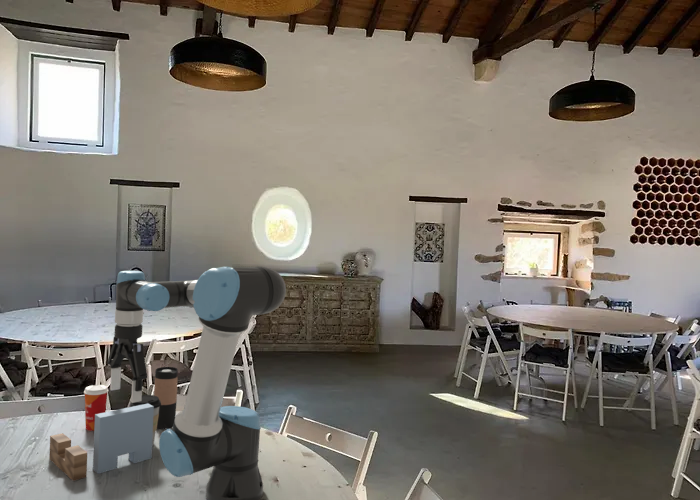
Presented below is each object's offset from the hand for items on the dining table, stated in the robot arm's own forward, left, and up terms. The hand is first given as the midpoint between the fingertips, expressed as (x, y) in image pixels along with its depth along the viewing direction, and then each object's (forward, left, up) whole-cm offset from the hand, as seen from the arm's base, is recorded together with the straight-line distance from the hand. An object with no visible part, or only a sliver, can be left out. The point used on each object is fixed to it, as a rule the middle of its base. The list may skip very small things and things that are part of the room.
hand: (125, 395), depth 161 cm
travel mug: (+20, -24, -21) cm, 37 cm away
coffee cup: (+9, -11, -21) cm, 25 cm away
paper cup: (+32, -5, -21) cm, 38 cm away
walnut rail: (+7, +13, -20) cm, 25 cm away
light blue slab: (0, 0, -20) cm, 20 cm away
